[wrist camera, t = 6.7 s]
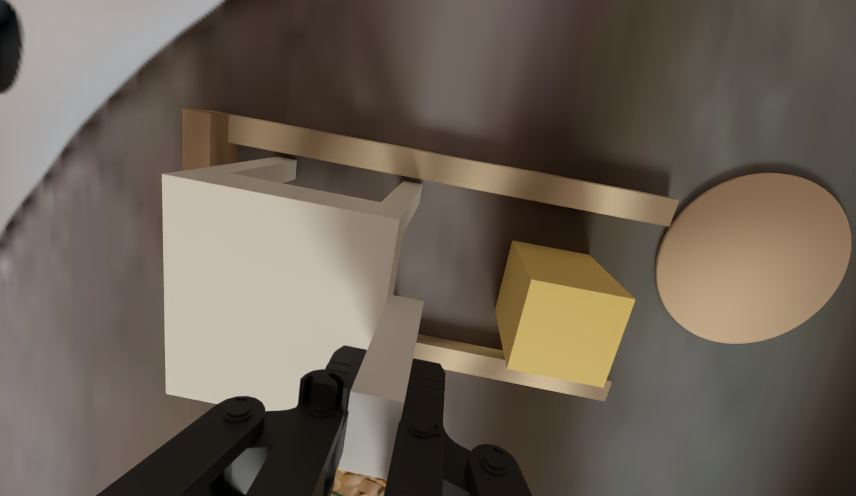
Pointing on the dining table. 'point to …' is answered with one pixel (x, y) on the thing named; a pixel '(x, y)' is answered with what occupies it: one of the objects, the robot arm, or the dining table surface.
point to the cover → (270, 277)
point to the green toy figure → (357, 484)
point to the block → (560, 314)
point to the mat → (753, 257)
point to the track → (222, 132)
